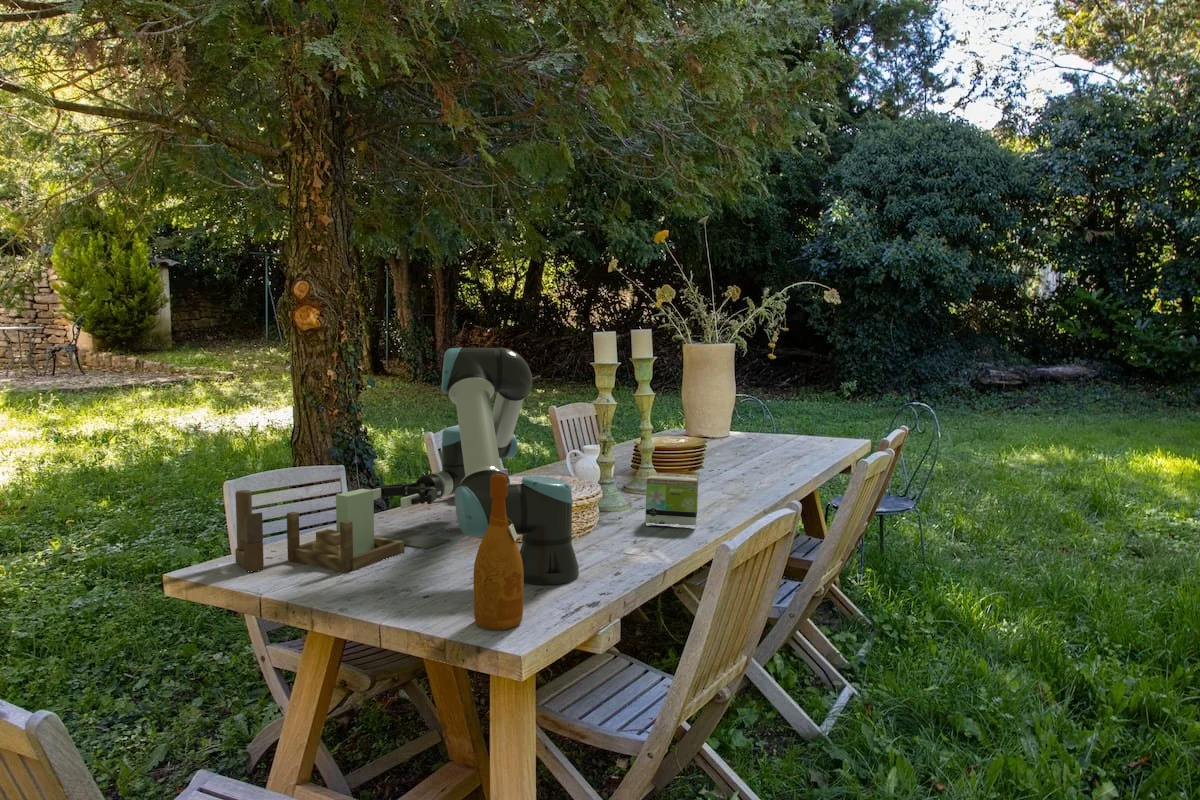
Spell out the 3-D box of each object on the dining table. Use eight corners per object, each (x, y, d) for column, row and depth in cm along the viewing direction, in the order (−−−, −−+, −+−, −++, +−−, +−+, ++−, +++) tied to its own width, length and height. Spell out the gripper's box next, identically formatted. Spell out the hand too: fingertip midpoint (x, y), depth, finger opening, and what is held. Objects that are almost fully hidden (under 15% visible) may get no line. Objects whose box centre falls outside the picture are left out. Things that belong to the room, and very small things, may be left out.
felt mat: (450, 540, 223) (450, 539, 223) (426, 549, 214) (426, 548, 214) (410, 534, 230) (410, 532, 230) (385, 542, 221) (385, 540, 221)
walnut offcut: (346, 543, 202) (346, 532, 202) (335, 546, 199) (334, 535, 199) (327, 539, 206) (327, 529, 205) (316, 542, 203) (315, 531, 202)
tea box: (644, 527, 240) (645, 477, 239) (648, 519, 250) (649, 471, 249) (696, 529, 238) (697, 479, 237) (697, 521, 248) (698, 473, 247)
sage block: (374, 550, 213) (373, 490, 211) (348, 559, 205) (347, 496, 203) (362, 548, 215) (361, 488, 213) (337, 557, 207) (335, 494, 205)
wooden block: (248, 573, 193) (246, 498, 191) (235, 562, 201) (232, 490, 199) (264, 570, 195) (262, 496, 193) (250, 560, 203) (248, 489, 202)
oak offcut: (348, 553, 203) (348, 542, 202) (338, 556, 199) (338, 546, 199) (322, 549, 206) (322, 539, 205) (312, 553, 202) (312, 542, 202)
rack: (404, 552, 211) (403, 507, 210) (347, 572, 194) (346, 523, 193) (347, 542, 220) (346, 498, 219) (287, 560, 203) (286, 513, 202)
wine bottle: (496, 636, 155) (496, 481, 153) (463, 623, 162) (462, 474, 159) (533, 622, 163) (534, 474, 160) (500, 610, 169) (500, 467, 167)
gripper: (468, 504, 231) (418, 520, 212) (400, 494, 243) (347, 508, 224) (468, 478, 230) (418, 491, 211) (400, 469, 242) (347, 481, 223)
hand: (381, 500), depth 218 cm, fingers open, 13 cm apart
